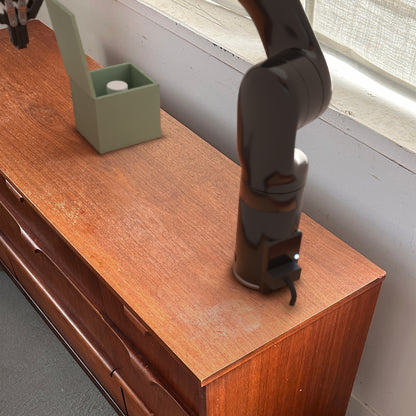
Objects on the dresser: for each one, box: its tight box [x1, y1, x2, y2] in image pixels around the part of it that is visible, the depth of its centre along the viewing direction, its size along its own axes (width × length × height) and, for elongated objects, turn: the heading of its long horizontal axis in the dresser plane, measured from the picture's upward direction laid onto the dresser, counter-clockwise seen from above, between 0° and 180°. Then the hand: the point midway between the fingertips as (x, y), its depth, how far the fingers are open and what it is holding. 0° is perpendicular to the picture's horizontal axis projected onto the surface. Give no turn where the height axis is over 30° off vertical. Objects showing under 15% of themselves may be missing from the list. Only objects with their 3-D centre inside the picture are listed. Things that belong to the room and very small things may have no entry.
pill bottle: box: [107, 81, 128, 94], centre depth 124 cm, size 5×5×9 cm
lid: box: [44, 0, 96, 98], centre depth 111 cm, size 14×12×1 cm
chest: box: [68, 60, 162, 155], centre depth 124 cm, size 14×12×11 cm
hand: (21, 47), depth 107 cm, fingers closed
